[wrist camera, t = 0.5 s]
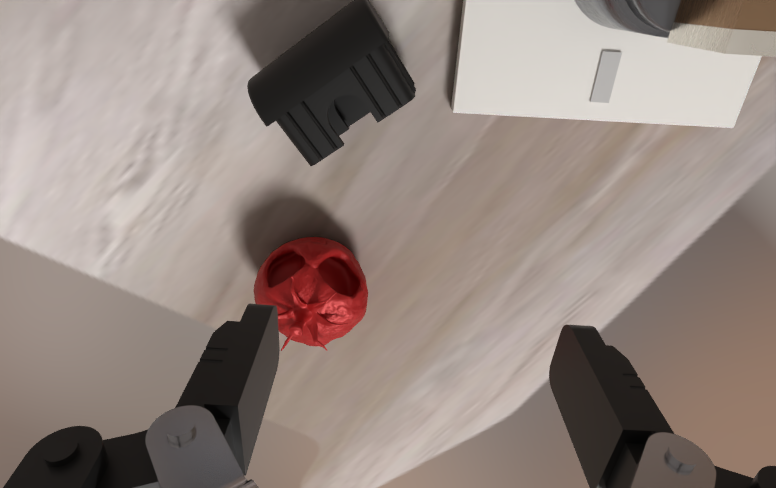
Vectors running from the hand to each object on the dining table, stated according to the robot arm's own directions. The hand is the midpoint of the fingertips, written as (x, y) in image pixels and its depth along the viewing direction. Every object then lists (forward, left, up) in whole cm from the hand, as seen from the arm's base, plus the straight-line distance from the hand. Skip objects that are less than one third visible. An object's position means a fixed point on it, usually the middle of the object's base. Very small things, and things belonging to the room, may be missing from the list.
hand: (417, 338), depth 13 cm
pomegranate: (+16, -7, -29) cm, 33 cm away
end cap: (-2, -5, -29) cm, 29 cm away
